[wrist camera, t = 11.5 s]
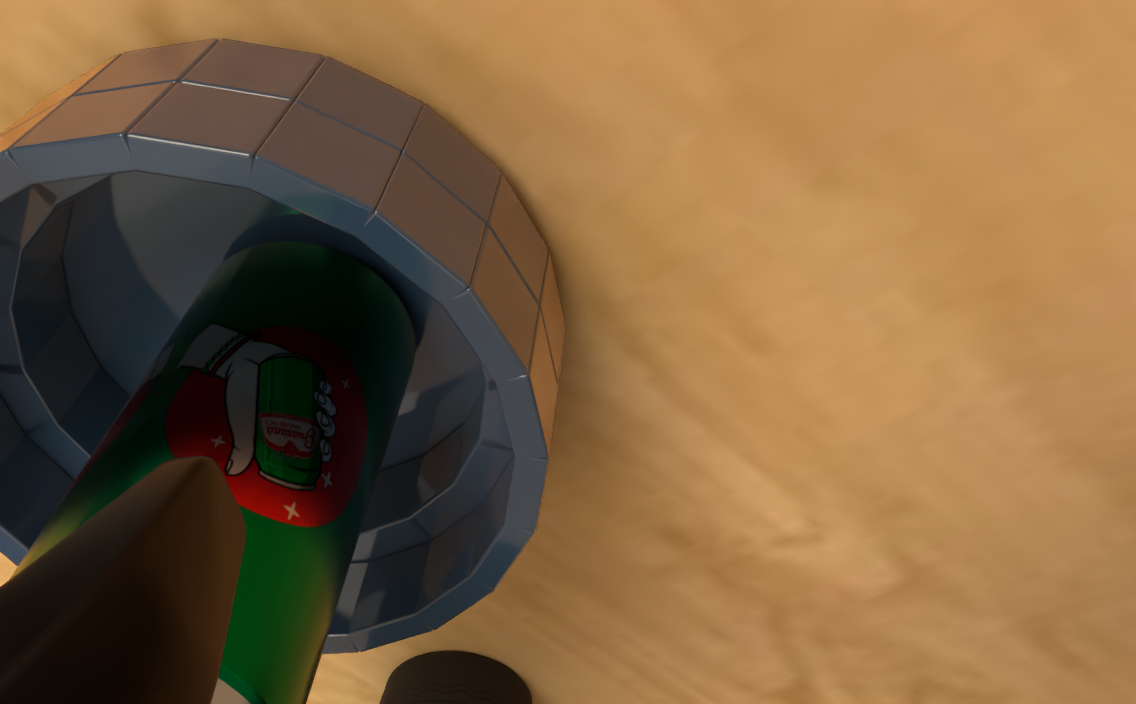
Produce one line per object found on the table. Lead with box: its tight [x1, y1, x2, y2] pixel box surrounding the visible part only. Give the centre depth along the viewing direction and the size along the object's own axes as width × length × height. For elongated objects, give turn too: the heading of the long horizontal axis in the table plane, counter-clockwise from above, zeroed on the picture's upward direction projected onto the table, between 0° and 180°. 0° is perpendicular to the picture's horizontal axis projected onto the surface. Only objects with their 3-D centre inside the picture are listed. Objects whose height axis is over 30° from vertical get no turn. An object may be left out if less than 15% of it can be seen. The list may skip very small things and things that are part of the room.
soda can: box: [9, 241, 416, 704], centre depth 19 cm, size 5×5×12 cm
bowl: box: [0, 39, 565, 654], centre depth 23 cm, size 13×13×5 cm
